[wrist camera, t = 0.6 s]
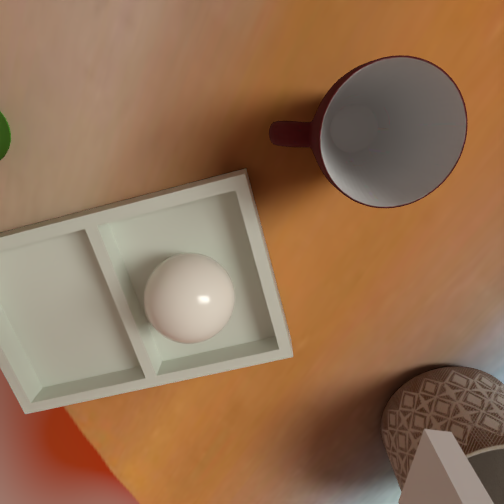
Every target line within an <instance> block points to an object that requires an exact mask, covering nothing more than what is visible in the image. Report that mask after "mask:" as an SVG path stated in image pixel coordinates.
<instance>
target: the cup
mask: <svg viewBox="0 0 504 504" xmlns="http://www.w3.org/2000/svg"><path fill="white" fill-rule="evenodd" d="M10 142H11V133H10V128H9V125H8V123H7V121H6V119H5V117H4V116H3V114H2V113H1V112H0V160H1V159H2V158H3V157H4V156H5V154H6V153H7V151H8V149H9V146H10Z"/></svg>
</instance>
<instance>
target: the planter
mask: <svg viewBox="0 0 504 504" xmlns="http://www.w3.org/2000/svg"><path fill="white" fill-rule="evenodd" d="M424 429H431V430H439V431H447V432H452V434H453V436H454V437H455V439H456V441H457V442H458V444H459V446H460V447H461V449H462V451H463V452H464V454H465V456H466V457H467V459H468V461H469V463H470V464H471V466H472V468H473V469H474V471H475V473H476V474H477V476H478V478H479V479H480V481H481V483H482V484H483V486H484V488H485V489H486V491H487V493H488V495H489V496H490V498H491V500H492V501H493V503H494V504H504V384H503V383H502V382H500V381H499V380H498V379H496V378H495V377H493V376H492V375H490V374H488V373H486V372H483V371H481V370H478V369H474V368H469V367H444V368H438V369H434V370H431V371H428V372H425V373H422V374H420V375H418V376H416V377H414V378H413V379H411V380H409V381H408V382H406V383H405V384H404V385H403V386H401V387H400V388H399V389H398V390H397V391H396V392H395V393H394V395H393V396H392V397H391V398H390V400H389V401H388V403H387V405H386V407H385V409H384V412H383V415H382V419H381V437H382V441H383V443H384V446H385V449H386V451H387V454H388V457H389V459H390V462H391V465H392V467H393V470H394V473H395V475H396V478H397V481H398V483H399V486H400V489H401V491H402V490H403V487H404V485H405V482H406V479H407V476H408V473H409V470H410V468H411V465H412V462H413V459H414V456H415V453H416V451H417V448H418V445H419V442H420V439H421V436H422V433H423V431H424Z"/></svg>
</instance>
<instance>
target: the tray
mask: <svg viewBox="0 0 504 504" xmlns="http://www.w3.org/2000/svg"><path fill="white" fill-rule="evenodd" d="M182 253H199V254H203V255H206V256H208V257H211V258H213V259H214V260H216V261H217V262H218V263H220V264H221V265H222V266H223V267H224V268H225V269H226V271H227V272H228V274H229V275H230V277H231V280H232V282H233V285H234V289H235V306H234V310H233V313H232V316H231V318H230V320H229V321H228V323H227V324H226V326H225V327H224V328H223V329H222V330H221V331H220V332H219V333H218V334H217V335H215V336H214V337H212V338H210V339H208V340H206V341H203V342H200V343H195V344H183V343H178V342H175V341H172V340H169V339H167V338H166V337H164V336H163V335H161V334H160V333H159V332H158V331H157V330H156V329H155V328H154V327H153V326H152V324H151V323H150V321H149V319H148V317H147V315H146V312H145V307H144V291H145V287H146V283H147V281H148V279H149V277H150V275H151V274H152V272H153V271H154V270H155V269H156V267H157V266H158V265H159V264H161V263H162V262H163V261H165V260H166V259H168V258H170V257H172V256H174V255H178V254H182ZM290 357H293V350H292V343H291V337H290V333H289V329H288V326H287V322H286V318H285V314H284V310H283V307H282V303H281V299H280V295H279V291H278V287H277V284H276V280H275V276H274V272H273V268H272V265H271V261H270V257H269V253H268V249H267V245H266V242H265V238H264V234H263V230H262V226H261V223H260V219H259V215H258V211H257V207H256V203H255V200H254V196H253V192H252V188H251V184H250V181H249V177H248V173H247V169H246V168H245V169H241V170H237V171H233V172H230V173H226V174H222V175H218V176H214V177H211V178H207V179H203V180H199V181H195V182H191V183H188V184H184V185H180V186H176V187H172V188H169V189H165V190H161V191H157V192H153V193H150V194H146V195H142V196H138V197H134V198H130V199H127V200H123V201H119V202H115V203H111V204H108V205H104V206H100V207H96V208H92V209H89V210H85V211H81V212H77V213H73V214H69V215H66V216H62V217H58V218H54V219H50V220H47V221H43V222H39V223H35V224H31V225H28V226H24V227H20V228H16V229H12V230H8V231H5V232H1V233H0V368H1V370H2V372H3V374H4V376H5V378H6V379H7V381H8V383H9V385H10V387H11V389H12V390H13V392H14V394H15V396H16V398H17V400H18V402H19V404H20V406H21V407H22V409H23V411H24V413H25V414H29V413H33V412H37V411H43V410H47V409H52V408H57V407H61V406H66V405H71V404H75V403H80V402H85V401H89V400H94V399H99V398H103V397H108V396H113V395H117V394H122V393H127V392H131V391H136V390H141V389H145V388H150V387H155V386H159V385H164V384H169V383H173V382H178V381H183V380H187V379H192V378H197V377H201V376H206V375H211V374H215V373H220V372H225V371H229V370H234V369H239V368H243V367H248V366H253V365H257V364H262V363H267V362H271V361H276V360H281V359H285V358H290Z"/></svg>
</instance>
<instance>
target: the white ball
mask: <svg viewBox="0 0 504 504" xmlns="http://www.w3.org/2000/svg"><path fill="white" fill-rule="evenodd" d="M234 306H235V289H234V285H233V282H232V280H231V277H230V275H229V274H228V272H227V271H226V269H225V268H224V267H223V266H222V265H221V264H220V263H218V262H217V261H216V260H214V259H213V258H211V257H208V256H206V255H203V254H199V253H182V254H178V255H174V256H172V257H170V258H168V259H166V260H165V261H163V262H162V263H161V264H159V265H158V266H157V267H156V269H155V270H154V271H153V272H152V274H151V275H150V277H149V279H148V281H147V283H146V287H145V291H144V307H145V312H146V315H147V317H148V319H149V321H150V323H151V324H152V326H153V327H154V328H155V329H156V330H157V331H158V332H159V333H160V334H161V335H163V336H164V337H166V338H167V339H169V340H172V341H175V342H178V343H183V344H195V343H200V342H203V341H206V340H208V339H210V338H212V337H214V336H215V335H217V334H218V333H219V332H220V331H221V330H222V329H223V328H224V327H225V326H226V324H227V323H228V321H229V320H230V318H231V316H232V313H233V310H234Z"/></svg>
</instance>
